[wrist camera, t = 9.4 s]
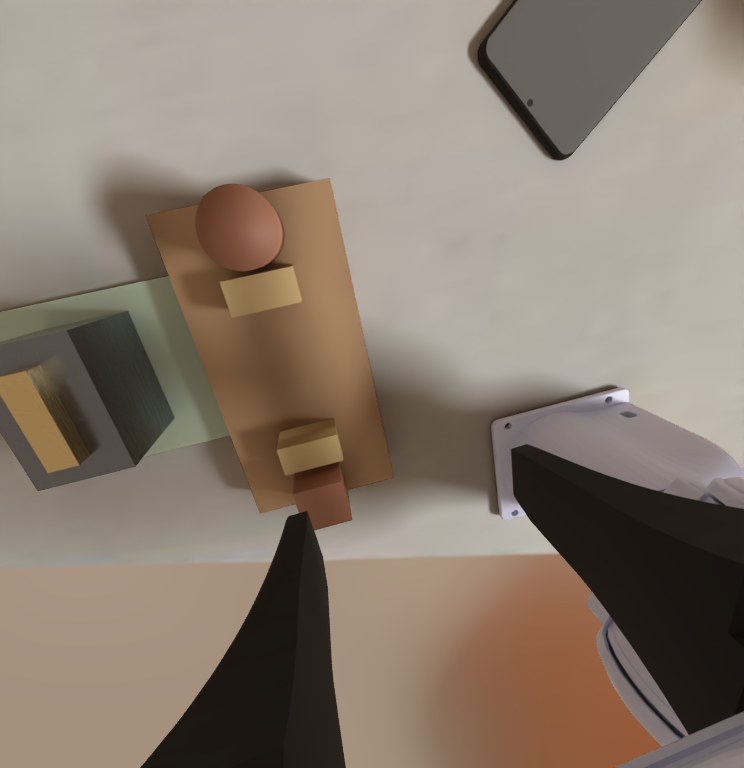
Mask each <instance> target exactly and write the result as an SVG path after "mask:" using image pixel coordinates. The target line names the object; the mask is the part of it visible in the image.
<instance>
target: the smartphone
mask: <svg viewBox="0 0 744 768" xmlns="http://www.w3.org/2000/svg"><path fill="white" fill-rule="evenodd" d="M701 1H702V0H514V1H513V3H512V4H511V5H510V7H509V8H508V9H507V11H506V12H505V13H504V14H503V16H502V17H501V18H500V20H499V21H498V22H497V24H496V25H495V26H494V28H493V29H492V30H491V32H490V33H489V34H488V35H487V37H486V38H485V39H484V41H483V42H482V43H481V45H480V47H479V50H478V61H479V64H480V66H481V67H482V68H483V70H484V71H485V72H486V74H487V75H488V76H489V77H490V79H491V80H492V81H493V83H494V84H495V85H496V86H497V88H498V89H499V90H500V92H501V93H502V94H503V95H504V97H505V98H506V99H507V101H508V102H509V103H510V104H511V106H512V107H513V108H514V110H515V111H516V112H517V113H518V115H519V116H520V117H521V118H522V120H523V121H524V122H525V123H526V125H527V126H528V127H529V129H530V130H531V131H532V132H533V134H534V135H535V136H536V137H537V139H538V140H539V141H540V142H541V143H542V145H543V146H544V147H545V148H546V150H547V151H548V152H549V154H550V155H551V156H552V157H553V158H554V159H556V160H564V159H566V158H568V157H569V156H571V155H572V154H573V153H574V151H575V150H576V149H577V148H578V147H579V146H580V144H581V143H582V142H583V141H584V140H585V138H586V137H587V136H588V135H589V134H590V132H591V131H592V130H593V129H594V128H595V127H596V125H597V124H598V123H599V122H600V121H601V119H602V118H603V117H604V116H605V115H606V113H607V112H608V111H609V110H610V109H611V108H612V106H613V105H614V104H615V103H616V102H617V100H618V99H619V98H620V97H621V96H622V95H623V93H624V92H625V91H626V90H627V89H628V87H629V86H630V85H631V84H632V83H633V81H634V80H635V79H636V78H637V77H638V76H639V74H640V73H641V72H642V71H643V70H644V68H645V67H646V66H647V65H648V64H649V62H650V61H651V60H652V59H653V58H654V57H655V55H656V54H657V53H658V52H659V51H660V49H661V48H662V47H663V46H664V45H665V44H666V42H667V41H668V40H669V39H670V38H671V36H672V35H673V34H674V33H675V32H676V30H677V29H678V28H679V27H680V26H681V25H682V23H683V22H684V21H685V20H686V19H687V17H688V16H689V15H690V14H691V13H692V11H693V10H694V9H695V8H696V7H697V6H698V4H699V3H700V2H701Z"/></svg>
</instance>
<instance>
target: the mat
mask: <svg viewBox="0 0 744 768" xmlns="http://www.w3.org/2000/svg"><path fill="white" fill-rule="evenodd" d="M124 311H128V312H129V314H130V316H131V319H132V321H133V323H134V326H135V328H136V330H137V332H138V335H139V337H140V339H141V342H142V344H143V346H144V348H145V351H146V353H147V355H148V358H149V360H150V362H151V364H152V367H153V369H154V371H155V374H156V376H157V378H158V380H159V383H160V385H161V387H162V390H163V392H164V394H165V396H166V399H167V401H168V403H169V406H170V408H171V410H172V412H173V415H174V417H175V418H174V420H173V421H172V422H171V423H170V425H169V426H168V427H167V428H166V429H165V431H164V432H163V433H162V434H161V436H160V437H159V438H158V439H157V440H156V442H155V443H154V444H153V445H152V447H151V448H150V449H149V450H148V452H147V453H146V454H145V455H144V456H143V457H147V456H151V455H155V454H158V453H162V452H166V451H170V450H174V449H178V448H182V447H186V446H190V445H194V444H198V443H202V442H206V441H210V440H214V439H218V438H222V437H226V436H230V434H229V431H228V429H227V426H226V423H225V421H224V418H223V416H222V413H221V410H220V408H219V405H218V403H217V400H216V397H215V395H214V392H213V390H212V387H211V384H210V382H209V379H208V377H207V374H206V371H205V369H204V366H203V364H202V361H201V358H200V356H199V353H198V351H197V348H196V345H195V343H194V340H193V338H192V335H191V332H190V330H189V327H188V325H187V322H186V319H185V317H184V314H183V312H182V309H181V306H180V304H179V301H178V299H177V296H176V293H175V291H174V288H173V286H172V283H171V280H170V278H169V276H165V277H160V278H156V279H151V280H146V281H142V282H137V283H132V284H128V285H123V286H118V287H114V288H109V289H104V290H100V291H95V292H90V293H86V294H81V295H76V296H72V297H67V298H62V299H58V300H53V301H48V302H44V303H39V304H34V305H30V306H25V307H21V308H16V309H11V310H7V311H2V312H0V342H1V341H5V340H8V339H12V338H15V337H19V336H22V335H25V334H29V333H32V332H36V331H39V330H43V329H47V328H51V327H56V326H60V325H65V324H69V323H74V322H79V321H83V320H88V319H92V318H97V317H101V316H106V315H110V314H115V313H119V312H124Z"/></svg>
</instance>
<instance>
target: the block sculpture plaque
mask: <svg viewBox="0 0 744 768" xmlns="http://www.w3.org/2000/svg"><path fill="white" fill-rule="evenodd" d="M146 218H147V220H148V223H149V226H150V228H151V231H152V233H153V236H154V239H155V241H156V244H157V246H158V249H159V252H160V254H161V257H162V259H163V262H164V265H165V267H166V270H167V273H168V275H169V278H170V280H171V283H172V286H173V288H174V291H175V293H176V296H177V299H178V301H179V304H180V306H181V309H182V312H183V314H184V317H185V319H186V322H187V325H188V327H189V330H190V332H191V335H192V338H193V340H194V343H195V345H196V348H197V351H198V353H199V356H200V358H201V361H202V364H203V366H204V369H205V371H206V374H207V377H208V379H209V382H210V384H211V387H212V390H213V392H214V395H215V397H216V400H217V403H218V405H219V408H220V410H221V413H222V416H223V418H224V421H225V423H226V426H227V429H228V431H229V434H230V436H231V439H232V442H233V444H234V447H235V449H236V452H237V455H238V457H239V460H240V462H241V465H242V468H243V470H244V473H245V475H246V478H247V481H248V483H249V486H250V488H251V491H252V494H253V496H254V499H255V501H256V504H257V507H258V509H259V512H260V513H263V512H267V511H271V510H275V509H278V508H282V507H286V506H289V505H293V504H296V505H297V508H298V511H299V513H301V512H305V511H308V514H309V517H310V520H311V523H312V526H313V529H314V530H318V529H321V528H325V527H328V526H332V525H336V524H339V523H343V522H347V521H350V520H352V516H351V510H350V503H349V497H348V491H347V490H349V489H353V488H357V487H360V486H364V485H368V484H372V483H375V482H379V481H383V480H387V479H390V478H394V476H393V472H392V467H391V462H390V458H389V453H388V448H387V443H386V439H385V434H384V429H383V425H382V420H381V415H380V411H379V406H378V401H377V397H376V392H375V387H374V383H373V378H372V373H371V369H370V364H369V359H368V355H367V350H366V345H365V341H364V336H363V331H362V327H361V322H360V317H359V313H358V308H357V303H356V299H355V294H354V289H353V285H352V280H351V275H350V271H349V266H348V261H347V257H346V252H345V247H344V243H343V238H342V233H341V229H340V224H339V219H338V215H337V210H336V205H335V201H334V196H333V191H332V187H331V182H330V178H328V179H323V180H318V181H313V182H308V183H303V184H298V185H293V186H288V187H283V188H278V189H273V190H268V191H263V192H257V191H255V190H253V189H251V188H249V187H247V186H243V185H239V184H226V185H222V186H218V187H216V188H214V189H212V190H211V191H209V192H208V193H207V194H206V195H205V196H204V198H203V199H202V200H201V202H200V204H199V205H194V206H189V207H184V208H179V209H174V210H169V211H164V212H159V213H154V214H149V215H146Z"/></svg>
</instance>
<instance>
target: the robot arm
mask: <svg viewBox="0 0 744 768" xmlns="http://www.w3.org/2000/svg"><path fill="white" fill-rule="evenodd" d="M607 397H608V399H607V400H606V398H607ZM605 400H606V401H605ZM507 423H509V425H508V426H507V427H505V425H506V424H507ZM491 432H492V442H493V453H494V463H495V474H496V484H497V494H498V505H499V514H500V516H501V518H502V519H503V520H510V519H514V518H517V517H521V516H524V515H527V516H528V518H529V519H530V520H531V522H532V523H533V524H534V525H535V526H536V527H537V529H538V530H539V531H540V532H541V533H542V534H543V535H544V537H545V538H546V539H547V540H548V541H549V542H550V543H551V544H552V546H553V547H554V548H555V549H556V550H557V551H558V552H559V553H560V555H561V556H562V557H563V558H564V559H565V560H566V561H567V562H568V564H569V565H570V566H571V567H572V568H573V569H574V570H575V571H576V572H577V574H578V575H579V576H580V577H581V578H582V580H583V581H584V582H585V583H586V584H587V586H588V587H589V588H590V590H591V591H592V593H591V595H590V597H589V599H588V600H587V603H586V604H587V605H588V607H589V608H590V609H591V611H592V612H593V613H594V614H595V616H596V617H597V618H598V619H599V621H600V622H601V623H602V625H603V626H602V627H601V629H600V630H599V632H598V634H597V640H596V642H597V649H598V652H599V655H600V658H601V661H602V663H603V665H604V667H605V670H606V672H607V674H608V676H609V679H610V681H611V683H612V685H613V686H614V688H615V690H616V691H617V693H618V694H619V696H620V698H621V699H622V701H623V702H624V703H625V705H626V706H627V707H628V709H629V710H630V711H631V712H632V714H633V715H634V716H635V718H636V719H637V720H638V721H639V722H640V724H641V725H642V726H643V727H644V728H645V729H646V730H647V731H648V733H649V734H650V735H651V736H652V737H653V738H654V739H655V740H656V741H657V742H658V743H659V744H660V745H661V746H662V747H661V748H658V749H656V750H654V751H652V752H649V753H647V754H645V755H642V756H640V757H638V758H636V759H633V760H631V761H629V762H626V763H624V764H622V765H619V766H617V767H615V768H744V469H743V468H742V467H741V466H740V465H739V464H738V463H737V461H736V460H735V459H734V458H733V457H732V456H730V455H729V454H728V453H727V452H726V451H725V450H723V449H722V448H720V447H719V446H718V445H716V444H715V443H713V442H711V441H709V440H707V439H705V438H703V437H701V436H699V435H697V434H694V433H692V432H690V431H688V430H686V429H684V428H682V427H680V426H677V425H675V424H673V423H671V422H669V421H667V420H665V419H663V418H661V417H658V416H656V415H654V414H652V413H650V412H648V411H646V410H644V409H641V408H639V407H637V406H635V405H633V404H631V403H629V391H628V390H627V389H624V388H622V387H620V388H616V389H612V390H608V391H604V392H600V393H596V394H593V395H589V396H585V397H581V398H577V399H573V400H570V401H566V402H562V403H558V404H554V405H550V406H547V407H543V408H539V409H535V410H531V411H528V412H524V413H520V414H516V415H512V416H508V417H505V418H501V419H497V420H495V421H494V422H493V423H492V425H491ZM514 510H515V511H514ZM513 511H514V512H513ZM140 768H346V766H345V760H344V753H343V746H342V739H341V732H340V725H339V718H338V711H337V704H336V697H335V689H334V682H333V672H332V660H331V641H330V621H329V602H328V586H327V580H326V573H325V568H324V561H323V556H322V553H321V550H320V547H319V544H318V541H317V538H316V535H315V532H314V529H313V526H312V523H311V520H310V517H309V514H308V511H305V512H301V513H298V514H295V515H291V516H289V517H288V518H287V520H286V523H285V526H284V530H283V533H282V536H281V539H280V542H279V545H278V548H277V550H276V553H275V556H274V558H273V561H272V563H271V566H270V568H269V571H268V573H267V576H266V578H265V580H264V583H263V584H262V587H261V589H260V591H259V593H258V595H257V597H256V600H255V602H254V604H253V606H252V608H251V610H250V612H249V614H248V616H247V617H246V619H245V621H244V623H243V625H242V627H241V628H240V630H239V632H238V634H237V635H236V637H235V639H234V641H233V642H232V644H231V645H230V647H229V649H228V650H227V652H226V654H225V655H224V657H223V659H222V660H221V662H220V663H219V665H218V666H217V668H216V670H215V671H214V672H213V674H212V675H211V677H210V678H209V680H208V681H207V682H206V684H205V685H204V687H203V688H202V690H201V691H200V692H199V694H198V695H197V697H196V698H195V700H194V701H193V702H192V704H191V705H190V706H189V708H188V709H187V711H186V712H185V713H184V715H183V716H182V717H181V719H180V720H179V721H178V722H177V724H176V725H175V726H174V728H173V729H172V730H171V731H170V732H169V734H168V735H167V736H166V737H165V738H164V740H163V741H162V742H161V743H160V745H159V746H158V747H157V748H156V749H155V751H154V752H153V753H152V755H151V756H150V757H149V758H148V759H147V761H146V762H145V763H144V764H143V765H142V766H141V767H140Z"/></svg>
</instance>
